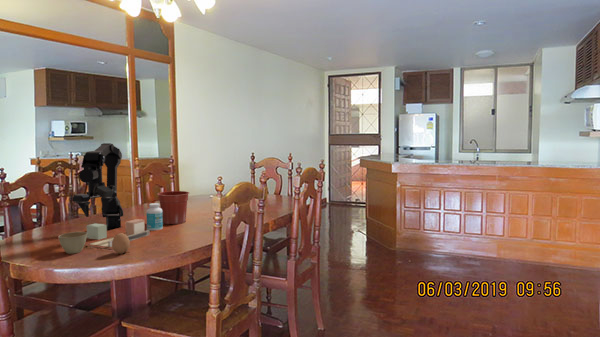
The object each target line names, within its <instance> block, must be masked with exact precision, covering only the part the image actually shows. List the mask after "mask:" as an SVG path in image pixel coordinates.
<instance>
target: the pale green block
mask: <svg viewBox="0 0 600 337" xmlns="http://www.w3.org/2000/svg"><path fill="white" fill-rule="evenodd" d="M107 231H108V229H107V225H106V224H103V223H95V222H94V223H92V224H87V225H86V233H87V238H86V239H89V240H90V239H91V240H98V241H100V240H102V239H103V240H104V239H108V232H107Z"/></svg>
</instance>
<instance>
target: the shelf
mask: <svg viewBox="0 0 600 337" xmlns="http://www.w3.org/2000/svg"><path fill="white" fill-rule="evenodd" d="M150 231H151V230H147V229H145V231H143V232H139V233H136V234H133V235H129V236H127V237H128V238H129V241H130V242H132V241H135V240H140V239H142V238H144V237H148V236H150V234H151V233H150ZM124 234H125V235H126V233H124ZM114 237H115V236H112V237H109V238H104V239H103V240H102V239H101V240H98V241H95V242H92V243H91V242H90V245H89V248H94V249H103V250H107V251H112V250H113V248H112V241H113V239H114ZM99 246H100V247H99ZM106 247H107V248H106Z"/></svg>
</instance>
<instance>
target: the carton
mask: <svg viewBox="0 0 600 337" xmlns="http://www.w3.org/2000/svg"><path fill="white" fill-rule="evenodd" d="M145 222H146V221H145V219H142V218H140V219H139V218H135V219H131V220H128V221H125V222H124V226H125V234H126V235H127V236H129V235H133V234H136V233H139V232H143V231H146V226H145V224H146V223H145Z"/></svg>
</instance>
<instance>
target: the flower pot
mask: <svg viewBox="0 0 600 337" xmlns="http://www.w3.org/2000/svg"><path fill="white" fill-rule="evenodd" d="M156 195H157V196H158V201H159V208H161V209H162V215H163V225H170V224H171V225H181V224H184V223H186V221H187V211H188V210H187V208H188V200H189V195H190V192H189V191H185V190H183V191H182V190H172V191H171V190H170V191H160V192H158V193H157V194H156Z"/></svg>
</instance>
